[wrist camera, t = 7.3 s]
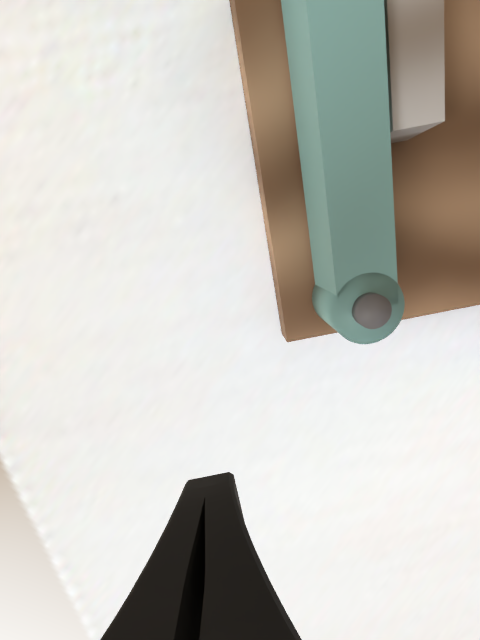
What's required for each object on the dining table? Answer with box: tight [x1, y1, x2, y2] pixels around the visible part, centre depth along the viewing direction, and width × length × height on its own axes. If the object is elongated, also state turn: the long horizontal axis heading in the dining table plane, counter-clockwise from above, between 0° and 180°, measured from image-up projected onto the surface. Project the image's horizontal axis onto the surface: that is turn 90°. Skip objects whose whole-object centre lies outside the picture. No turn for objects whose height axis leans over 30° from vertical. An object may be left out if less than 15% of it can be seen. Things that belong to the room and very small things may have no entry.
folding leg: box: [281, 0, 405, 344], centre depth 12 cm, size 14×3×4 cm, turn 11°
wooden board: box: [229, 0, 480, 342], centre depth 14 cm, size 16×18×4 cm
